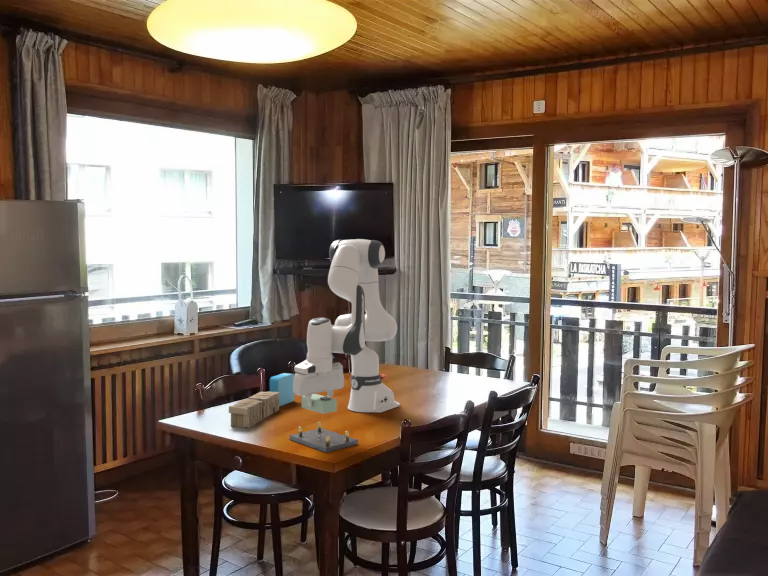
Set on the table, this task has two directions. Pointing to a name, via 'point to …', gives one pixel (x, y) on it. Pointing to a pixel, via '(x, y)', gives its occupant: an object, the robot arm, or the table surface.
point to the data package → (283, 387)
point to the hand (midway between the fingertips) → (319, 404)
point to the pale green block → (320, 404)
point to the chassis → (323, 439)
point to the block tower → (254, 409)
